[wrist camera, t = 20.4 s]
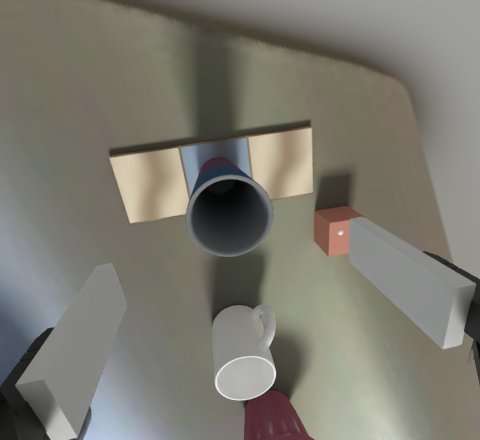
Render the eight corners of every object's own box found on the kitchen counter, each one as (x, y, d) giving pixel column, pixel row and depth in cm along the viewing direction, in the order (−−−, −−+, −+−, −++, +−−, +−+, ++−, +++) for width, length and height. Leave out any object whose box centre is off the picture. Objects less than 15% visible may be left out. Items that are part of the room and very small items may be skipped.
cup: (232, 141, 33) (255, 159, 19) (252, 189, 35) (284, 237, 22) (182, 163, 33) (169, 197, 19) (205, 209, 36) (208, 269, 22)
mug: (245, 278, 41) (258, 326, 32) (283, 300, 44) (306, 351, 35) (202, 330, 44) (202, 389, 34) (241, 348, 47) (251, 407, 37)
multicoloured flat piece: (130, 222, 36) (129, 224, 35) (109, 155, 32) (107, 156, 31) (311, 192, 38) (314, 193, 37) (310, 125, 34) (312, 126, 33)
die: (314, 240, 41) (329, 257, 36) (314, 210, 39) (330, 223, 34) (344, 235, 41) (363, 251, 36) (346, 205, 39) (366, 218, 34)
